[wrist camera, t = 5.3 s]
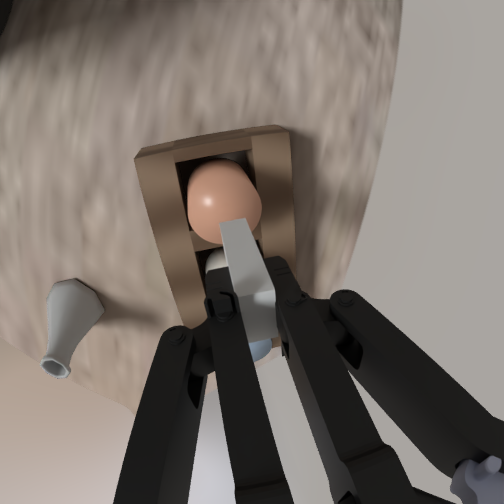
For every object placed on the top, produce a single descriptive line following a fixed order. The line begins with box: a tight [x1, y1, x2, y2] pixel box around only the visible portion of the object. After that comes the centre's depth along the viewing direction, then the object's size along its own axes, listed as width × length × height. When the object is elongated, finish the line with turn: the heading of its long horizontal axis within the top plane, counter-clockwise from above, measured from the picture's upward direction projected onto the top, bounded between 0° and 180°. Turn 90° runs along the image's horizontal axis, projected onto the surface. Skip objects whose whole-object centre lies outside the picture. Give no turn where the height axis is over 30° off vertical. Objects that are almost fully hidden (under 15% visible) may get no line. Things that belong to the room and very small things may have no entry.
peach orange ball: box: [188, 158, 262, 244], centre depth 22 cm, size 5×5×5 cm
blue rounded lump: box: [249, 339, 272, 362], centre depth 32 cm, size 5×5×5 cm
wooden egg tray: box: [134, 125, 296, 348], centre depth 30 cm, size 24×12×4 cm, turn 6°
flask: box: [40, 279, 105, 379], centre depth 27 cm, size 7×7×10 cm
